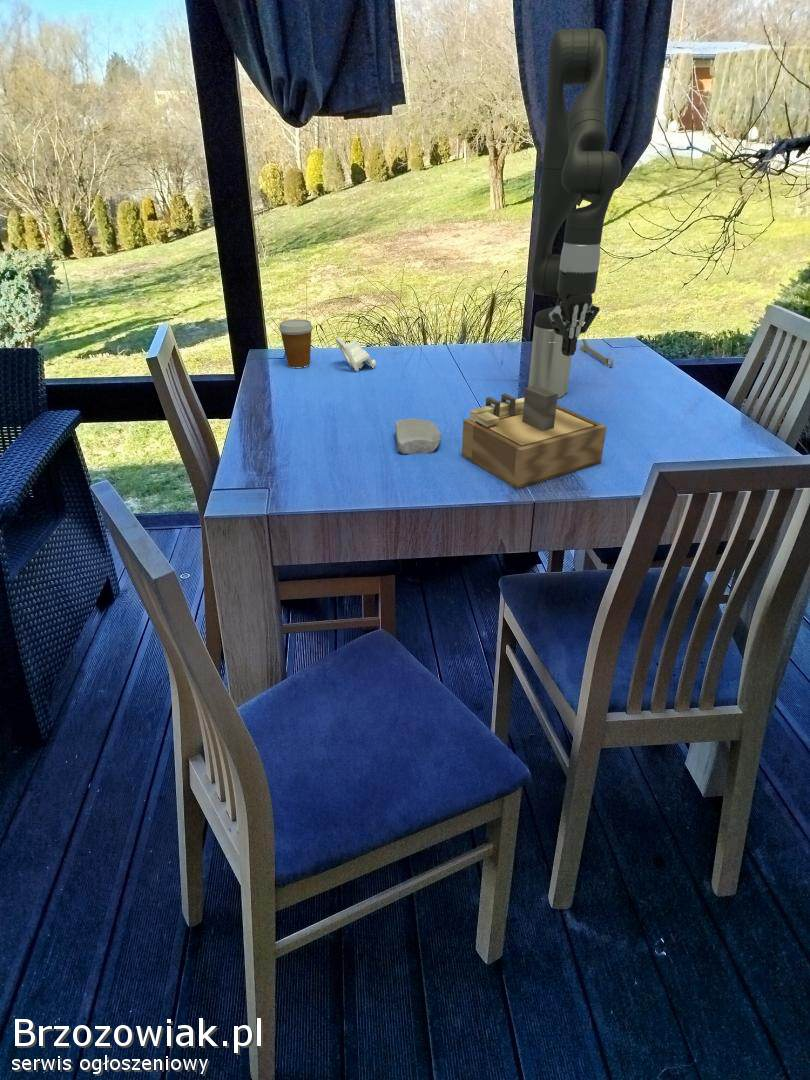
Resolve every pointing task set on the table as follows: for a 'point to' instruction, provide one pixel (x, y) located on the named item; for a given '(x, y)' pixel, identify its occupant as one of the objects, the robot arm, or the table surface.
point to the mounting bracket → (355, 354)
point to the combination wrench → (595, 353)
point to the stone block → (416, 436)
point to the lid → (538, 420)
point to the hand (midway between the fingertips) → (567, 354)
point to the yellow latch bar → (487, 413)
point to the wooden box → (531, 450)
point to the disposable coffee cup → (296, 341)
